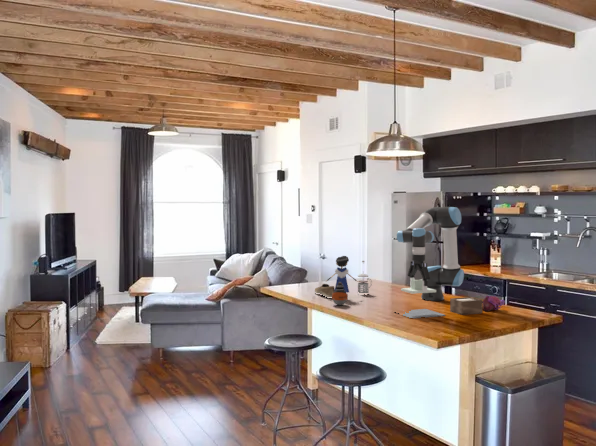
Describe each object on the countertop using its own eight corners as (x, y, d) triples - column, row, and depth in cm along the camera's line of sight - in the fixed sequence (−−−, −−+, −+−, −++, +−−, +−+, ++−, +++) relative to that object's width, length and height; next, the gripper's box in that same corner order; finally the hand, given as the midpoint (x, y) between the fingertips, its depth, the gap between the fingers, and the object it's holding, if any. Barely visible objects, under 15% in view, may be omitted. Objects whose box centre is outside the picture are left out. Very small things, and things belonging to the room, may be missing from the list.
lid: (400, 290, 310) (401, 279, 309) (424, 289, 315) (424, 278, 315) (412, 293, 298) (412, 281, 298) (436, 292, 304) (436, 280, 303)
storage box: (450, 311, 314) (450, 298, 314) (470, 309, 320) (470, 297, 319) (461, 314, 304) (461, 301, 304) (482, 313, 309) (482, 300, 309)
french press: (360, 292, 386) (360, 259, 385) (374, 294, 379) (374, 260, 379) (354, 294, 378) (354, 260, 377) (368, 296, 371) (368, 261, 370)
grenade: (347, 307, 329) (347, 283, 328) (331, 306, 331) (331, 283, 331) (348, 304, 340) (348, 281, 339) (333, 303, 342) (333, 281, 341)
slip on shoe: (312, 292, 387) (312, 281, 387) (327, 292, 390) (327, 280, 389) (323, 299, 358) (323, 286, 358) (338, 298, 361) (338, 286, 361)
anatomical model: (485, 311, 312) (509, 307, 313) (481, 296, 315) (505, 292, 316) (478, 313, 324) (501, 309, 325) (475, 298, 326) (497, 294, 327)
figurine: (357, 297, 364) (358, 255, 364) (358, 299, 355) (358, 256, 355) (325, 297, 367) (325, 255, 366) (325, 299, 358) (325, 256, 357)
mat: (392, 312, 312) (392, 311, 312) (425, 309, 321) (425, 308, 321) (410, 318, 293) (410, 317, 293) (445, 315, 302) (445, 314, 302)
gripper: (402, 252, 316) (401, 287, 317) (425, 255, 293) (425, 293, 294) (412, 252, 319) (412, 286, 319) (436, 255, 296) (436, 292, 296)
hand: (418, 289), depth 307 cm, fingers closed on lid, 12 cm apart
